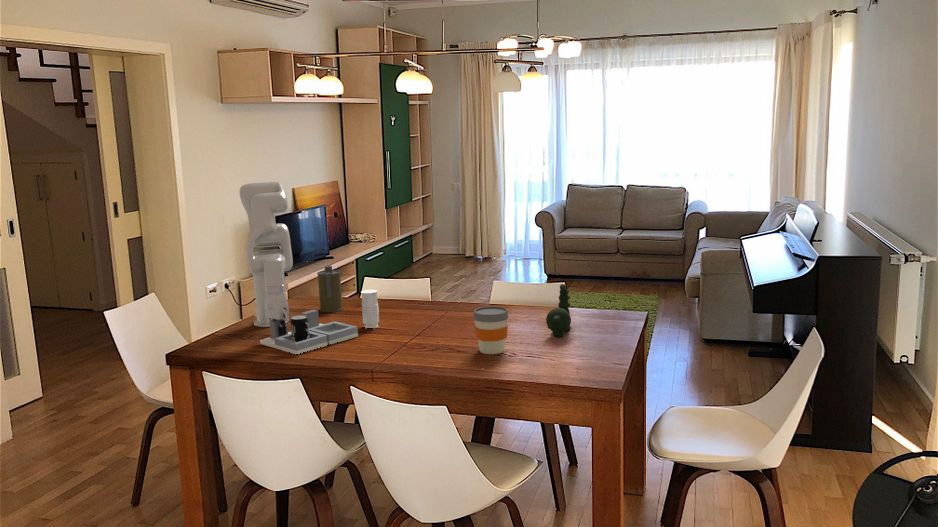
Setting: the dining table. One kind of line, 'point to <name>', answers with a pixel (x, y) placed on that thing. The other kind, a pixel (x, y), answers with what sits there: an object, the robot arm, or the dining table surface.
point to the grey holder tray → (292, 346)
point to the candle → (370, 308)
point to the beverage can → (299, 328)
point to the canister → (330, 290)
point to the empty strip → (330, 328)
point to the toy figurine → (560, 315)
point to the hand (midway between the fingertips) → (279, 334)
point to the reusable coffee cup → (491, 328)
